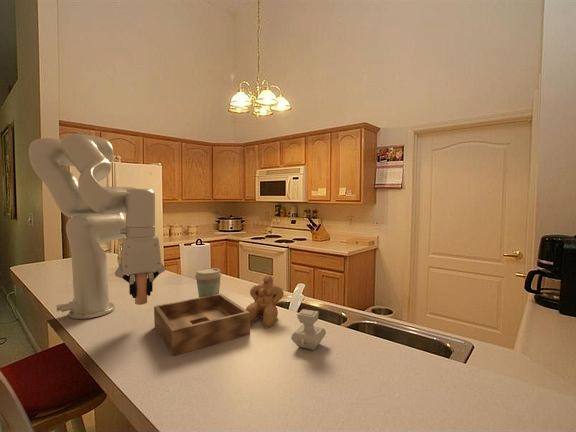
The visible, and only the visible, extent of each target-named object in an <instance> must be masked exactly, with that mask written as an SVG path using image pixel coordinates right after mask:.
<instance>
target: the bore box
mask: <svg viewBox="0 0 576 432" xmlns="http://www.w3.org/2000/svg"><path fill="white" fill-rule="evenodd" d="M153 314H154V315H153V318H154V328H155V330H156V331H157V333H158V334H159V335H158V336H160V337H161V339H162V341H163V342H164V344H165V345H166V347H167V349H168V350H169V352H170V353H171V355H172V356H173V357H174V356H177V355H181V354H185V353H188V352H192V351H195V350H200V349H202V348H207V347H211V346H213V345H218V344H220V343H224V342H228V341H232V340H236V339H238V338H239V339H240V338H241V337H246V336H248V335H251V324H250V312H248V311H247V310H246V308H244V307H242V306H241V305H239V303H236V302H235V301H233V300H232V299H230V298H228V297H227V296H226V295H223V294H222V293H219V294H216V295H211V296H205V297H200V298H199V297H196V298H190V299H185V300H181V301H175V302H174V301H173V302H169V303H163V304H159V305H158V304H157V305H154V306H153Z"/></svg>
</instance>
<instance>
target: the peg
mask: <svg viewBox="0 0 576 432" xmlns="http://www.w3.org/2000/svg"><path fill="white" fill-rule="evenodd" d="M147 278H148V276H147V273H141V274H135V279H134V281H135V284H136V297H135V298H134V304H135V305H138V306H139V305H140V306H141V305H145V304H148V295H147Z"/></svg>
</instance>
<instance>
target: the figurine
mask: <svg viewBox="0 0 576 432" xmlns="http://www.w3.org/2000/svg"><path fill="white" fill-rule="evenodd" d="M273 279H274V278H273V277H272V275H271V274H266V275H265V276H264V277H263V279H262V280H263V283H262V284H256V285H253V286H252V287H251V288H250V290H249V293H250V294H249V295H250V296H251V298H252V299H253V301H254V302H252V303H250V304H248V306H246V308H245V310H247V311H248V312H250V325H253V324H254V323H256V321H257V320H258V318H260V317H262V323H263V326H264V328H266V329H268V328H271V327H272V326H274V324H275V322H276V320H277V318H278V314H279V310H278V307H277V306H276V304H278V303H279V302H280V301H281V299H282V298H283V297H284V294H285V293H284V290H283V289H282V287H280V286H278V285H276V284H274V280H273Z"/></svg>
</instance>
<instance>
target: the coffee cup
mask: <svg viewBox="0 0 576 432" xmlns="http://www.w3.org/2000/svg"><path fill="white" fill-rule="evenodd" d="M221 277H222V273H221V270H220V268H215V267H209V268H208V267H207V268H206V267H205V268H201V269H198V270H197V271H196V273H195V279H196V285H197V292H198V298H200V297H205V296H211V295H216V294H220V287H221V286H220V285H221Z"/></svg>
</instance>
